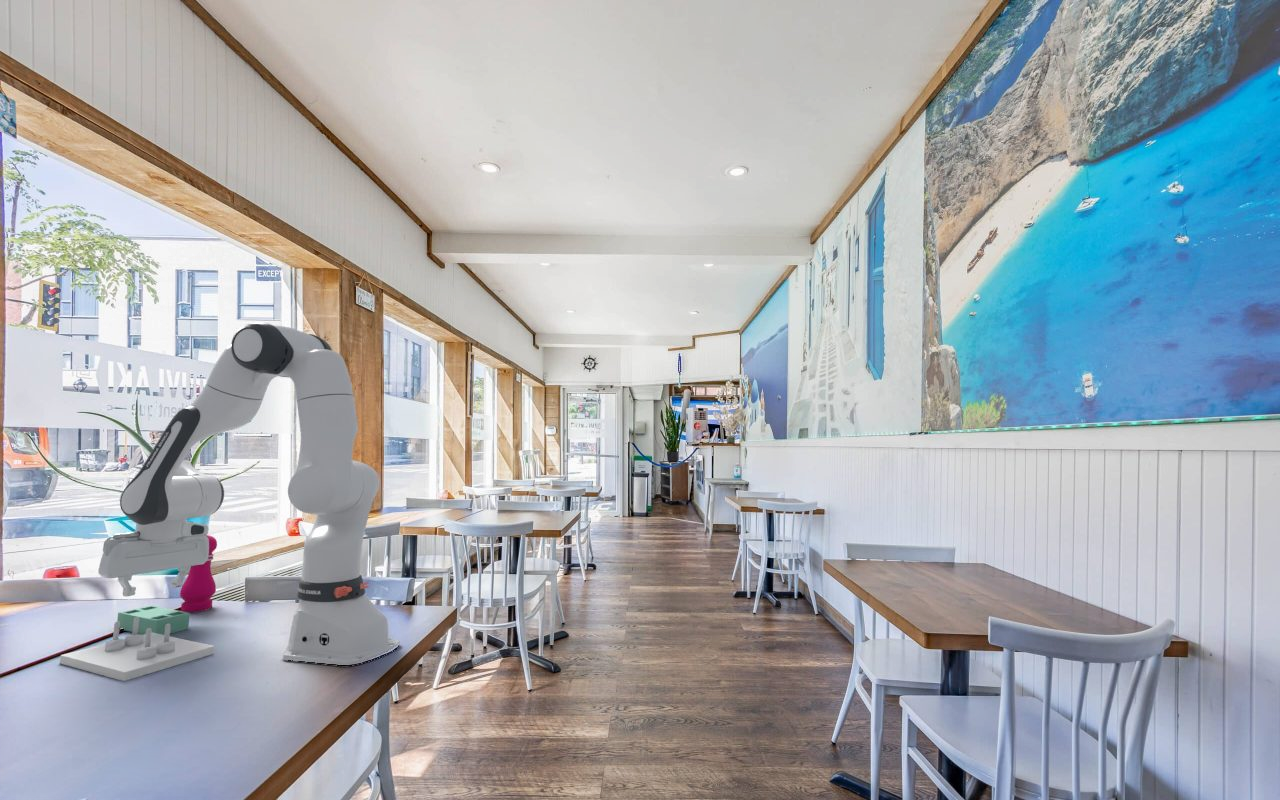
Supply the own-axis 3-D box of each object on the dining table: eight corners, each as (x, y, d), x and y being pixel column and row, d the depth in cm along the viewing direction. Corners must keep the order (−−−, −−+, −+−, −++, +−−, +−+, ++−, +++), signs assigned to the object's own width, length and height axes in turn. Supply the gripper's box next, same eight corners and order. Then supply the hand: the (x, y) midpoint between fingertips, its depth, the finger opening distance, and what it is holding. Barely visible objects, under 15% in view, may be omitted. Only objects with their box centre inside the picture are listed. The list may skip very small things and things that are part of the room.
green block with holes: (188, 628, 129) (189, 612, 129) (155, 637, 122) (157, 620, 123) (149, 620, 134) (151, 605, 134) (116, 628, 127) (118, 612, 128)
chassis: (213, 653, 114) (216, 618, 114) (123, 681, 100) (128, 641, 100) (151, 639, 121) (154, 606, 122) (59, 663, 107) (64, 626, 108)
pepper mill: (194, 614, 140) (202, 531, 141) (170, 611, 141) (178, 530, 143) (221, 606, 147) (228, 528, 149) (198, 604, 148) (205, 526, 150)
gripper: (114, 536, 119) (105, 603, 118) (216, 526, 138) (209, 584, 137) (96, 533, 121) (87, 599, 120) (199, 523, 140) (192, 580, 139)
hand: (153, 591), depth 129 cm, fingers open, 8 cm apart
